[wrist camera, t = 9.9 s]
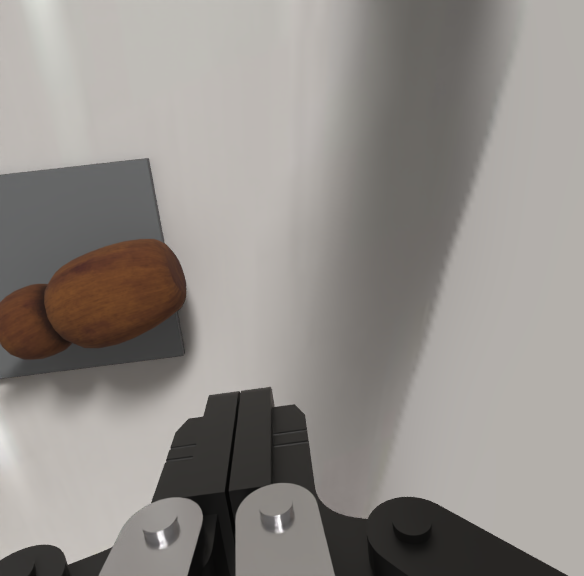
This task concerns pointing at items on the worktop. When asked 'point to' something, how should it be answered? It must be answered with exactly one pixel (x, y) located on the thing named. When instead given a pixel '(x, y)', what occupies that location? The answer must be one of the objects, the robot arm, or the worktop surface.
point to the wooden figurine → (94, 300)
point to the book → (78, 246)
